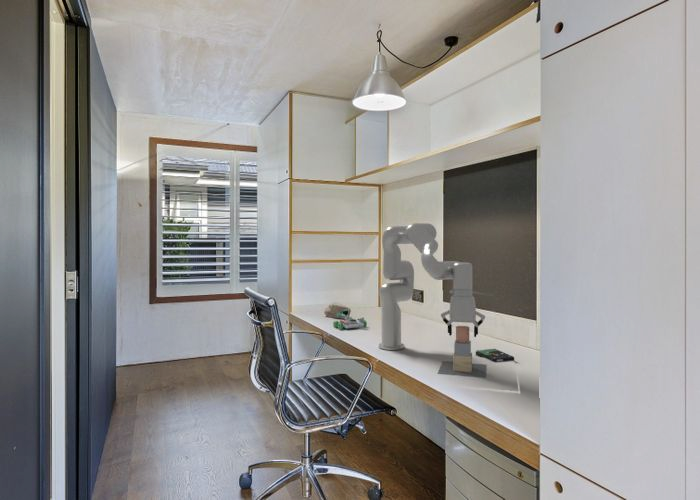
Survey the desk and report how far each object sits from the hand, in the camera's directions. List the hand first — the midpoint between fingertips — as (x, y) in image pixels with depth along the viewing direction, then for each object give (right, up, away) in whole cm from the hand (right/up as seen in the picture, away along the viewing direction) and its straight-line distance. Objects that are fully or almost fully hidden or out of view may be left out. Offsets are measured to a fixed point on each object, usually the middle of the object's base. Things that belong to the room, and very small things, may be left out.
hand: (462, 335), depth 176 cm
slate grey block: (0, -8, 0) cm, 7 cm away
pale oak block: (0, -14, 0) cm, 14 cm away
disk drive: (+19, -14, +18) cm, 30 cm away
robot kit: (-47, -13, +93) cm, 105 cm away
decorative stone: (-54, -12, +121) cm, 132 cm away
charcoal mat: (0, -14, 0) cm, 14 cm away
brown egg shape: (0, -3, 0) cm, 2 cm away
